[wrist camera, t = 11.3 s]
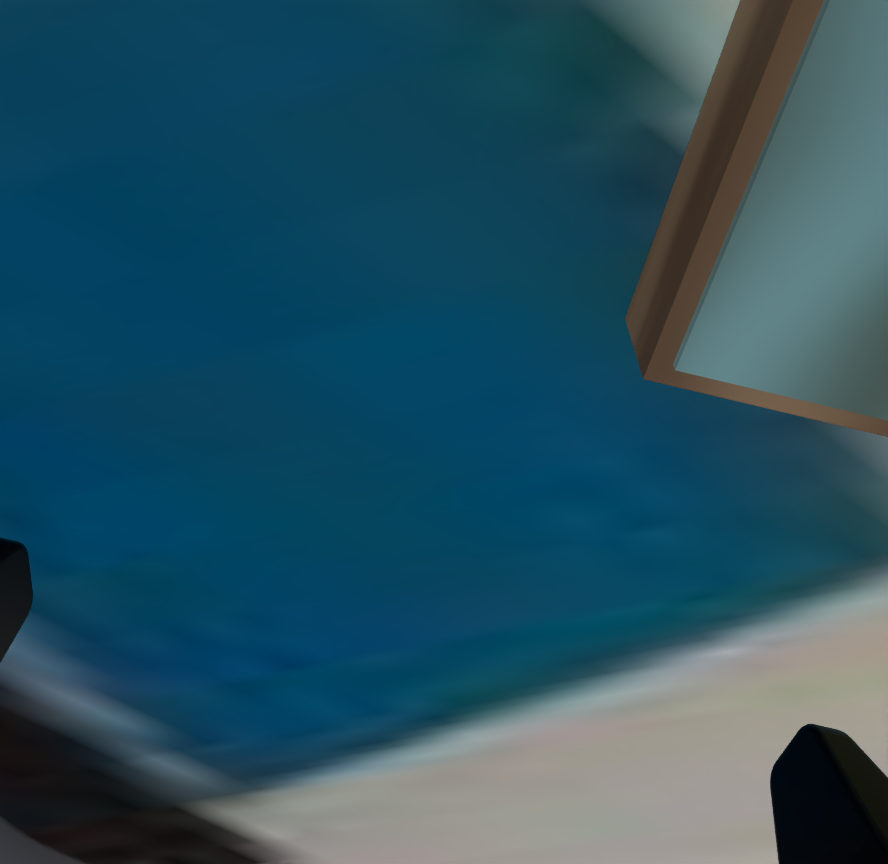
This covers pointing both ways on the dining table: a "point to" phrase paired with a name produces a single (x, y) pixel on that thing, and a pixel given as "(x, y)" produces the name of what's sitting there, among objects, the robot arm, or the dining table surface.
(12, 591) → the robot arm
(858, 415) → the riser
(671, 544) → the dining table surface
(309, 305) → the dining table surface
